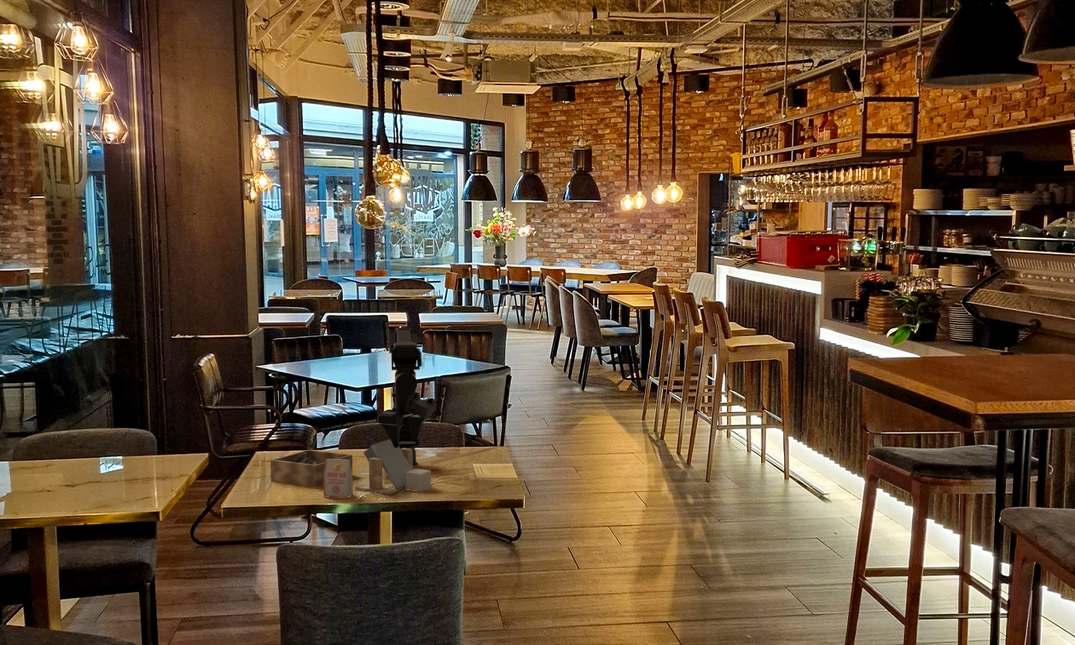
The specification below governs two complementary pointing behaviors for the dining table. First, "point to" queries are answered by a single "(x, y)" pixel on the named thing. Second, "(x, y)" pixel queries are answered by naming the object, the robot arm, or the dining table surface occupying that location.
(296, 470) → the open wooden box
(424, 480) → the pale grey cube
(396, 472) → the dark grey slab
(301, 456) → the chocolate cake
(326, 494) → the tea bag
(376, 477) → the stand
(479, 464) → the dining table surface
